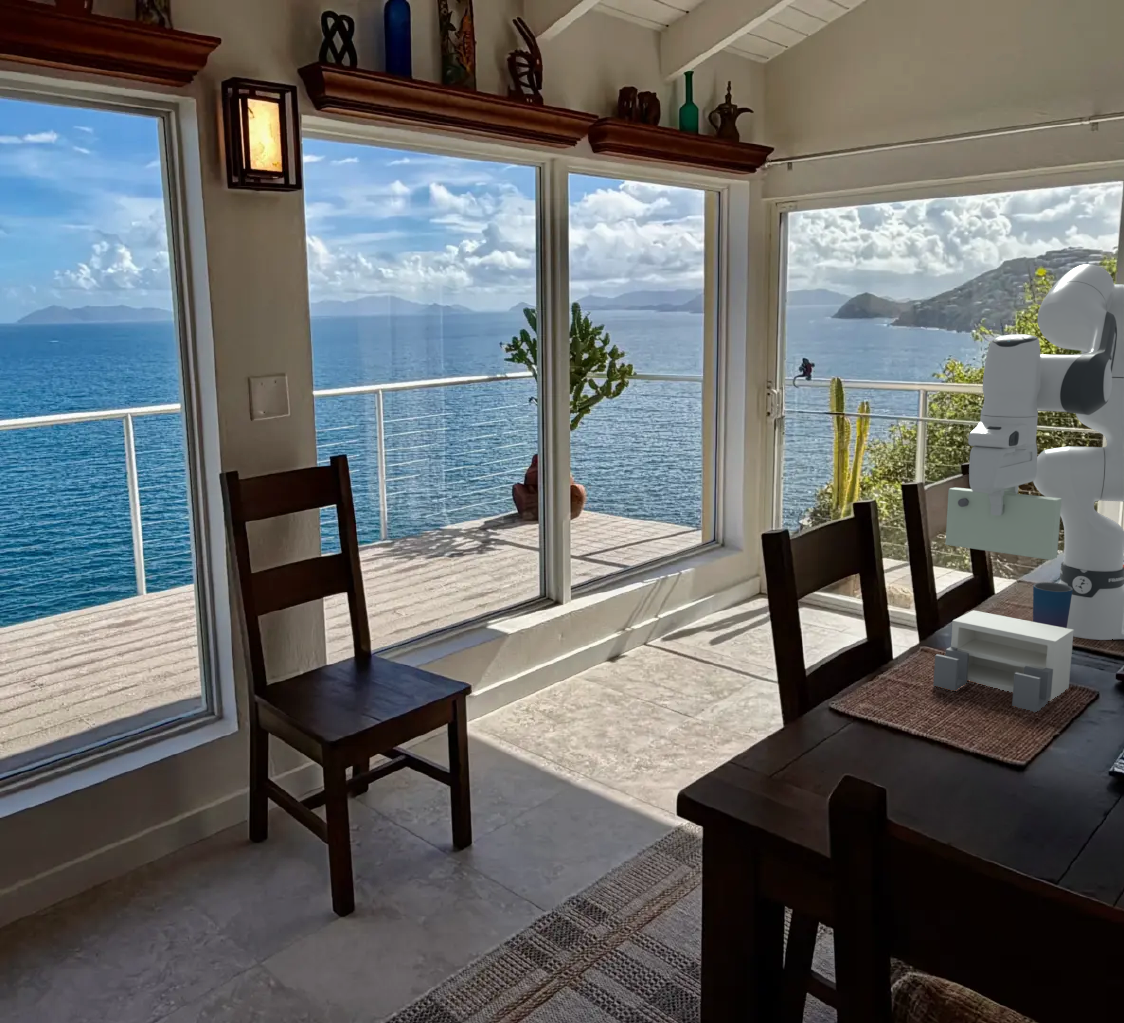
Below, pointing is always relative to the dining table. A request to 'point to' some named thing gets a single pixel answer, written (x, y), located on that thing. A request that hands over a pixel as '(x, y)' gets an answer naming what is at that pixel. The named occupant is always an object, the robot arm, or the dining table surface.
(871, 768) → the dining table surface
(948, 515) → the door
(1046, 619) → the cup
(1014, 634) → the cabinet
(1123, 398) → the robot arm
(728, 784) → the dining table surface
